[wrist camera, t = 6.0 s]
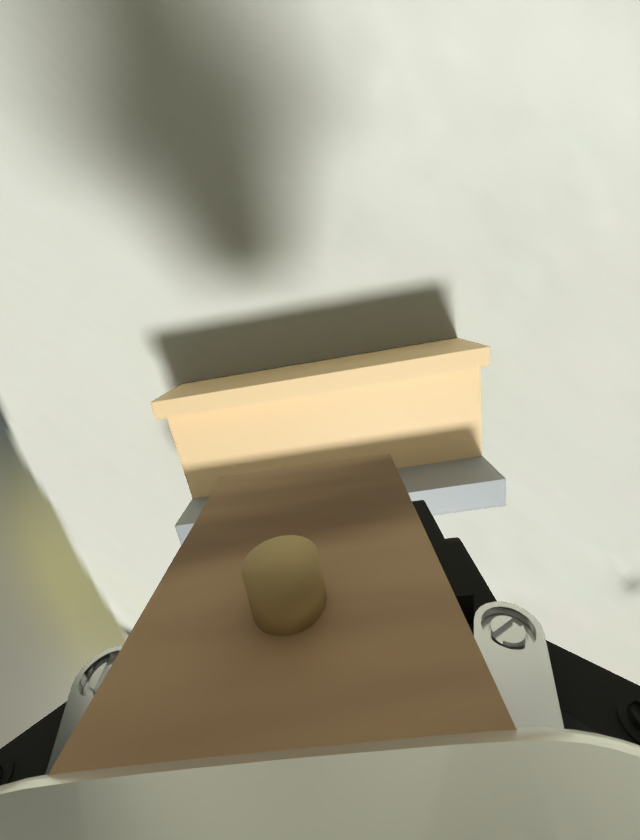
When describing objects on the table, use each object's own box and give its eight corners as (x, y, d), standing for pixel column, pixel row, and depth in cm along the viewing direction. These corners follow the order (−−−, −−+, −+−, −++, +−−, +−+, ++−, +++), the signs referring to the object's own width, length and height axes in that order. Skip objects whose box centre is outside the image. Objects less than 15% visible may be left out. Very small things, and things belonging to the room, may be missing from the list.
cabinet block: (214, 451, 12) (-38, 794, 4) (387, 426, 12) (555, 739, 3) (251, 588, 14) (141, 1030, 5) (401, 569, 14) (534, 1008, 5)
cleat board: (181, 383, 28) (134, 411, 21) (457, 337, 27) (505, 351, 20) (214, 494, 31) (183, 550, 24) (462, 457, 30) (505, 505, 23)
